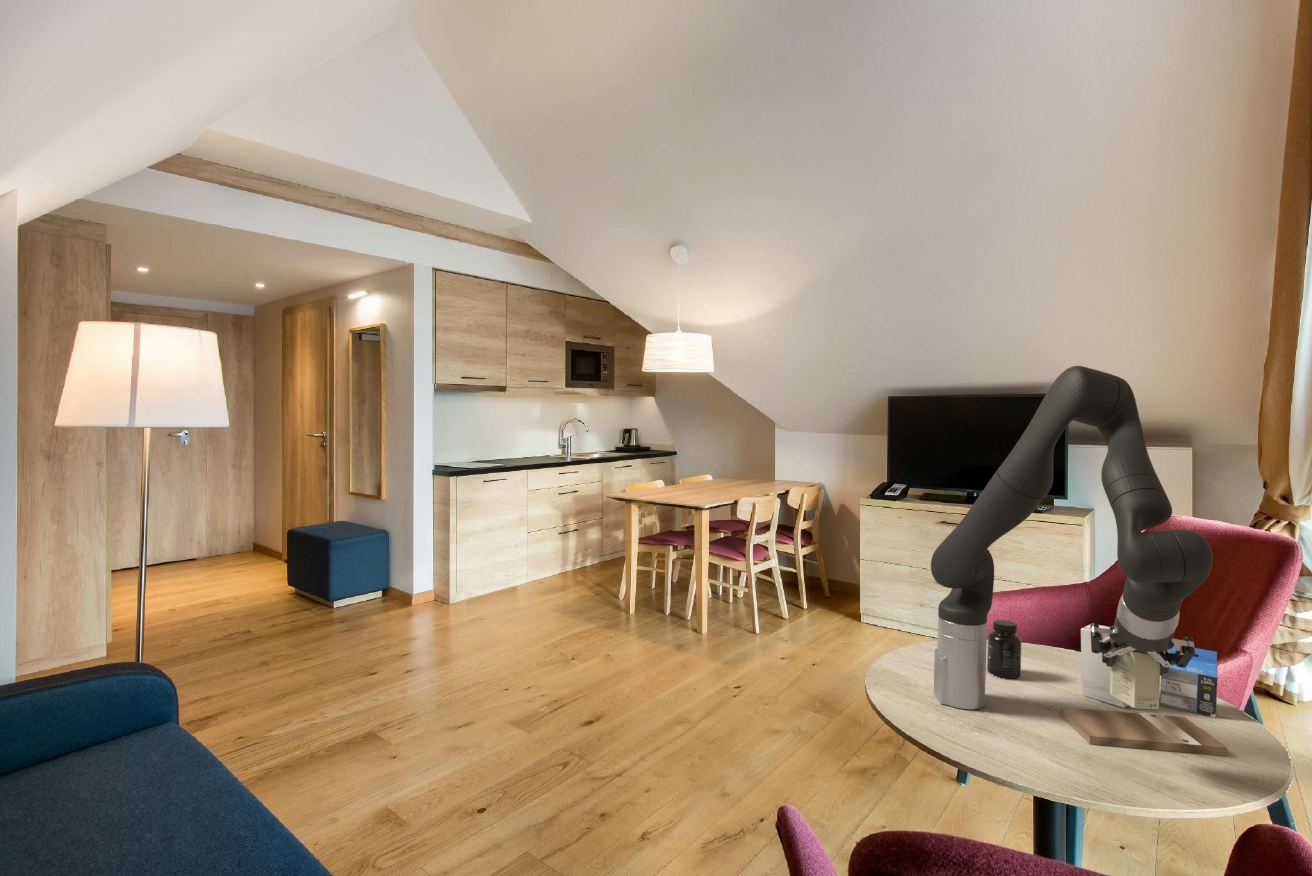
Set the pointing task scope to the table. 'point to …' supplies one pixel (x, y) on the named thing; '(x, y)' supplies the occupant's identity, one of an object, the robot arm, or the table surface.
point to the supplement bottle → (1004, 650)
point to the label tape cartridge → (1192, 684)
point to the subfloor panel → (1142, 731)
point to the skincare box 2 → (1136, 680)
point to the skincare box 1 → (1095, 671)
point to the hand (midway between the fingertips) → (1133, 665)
